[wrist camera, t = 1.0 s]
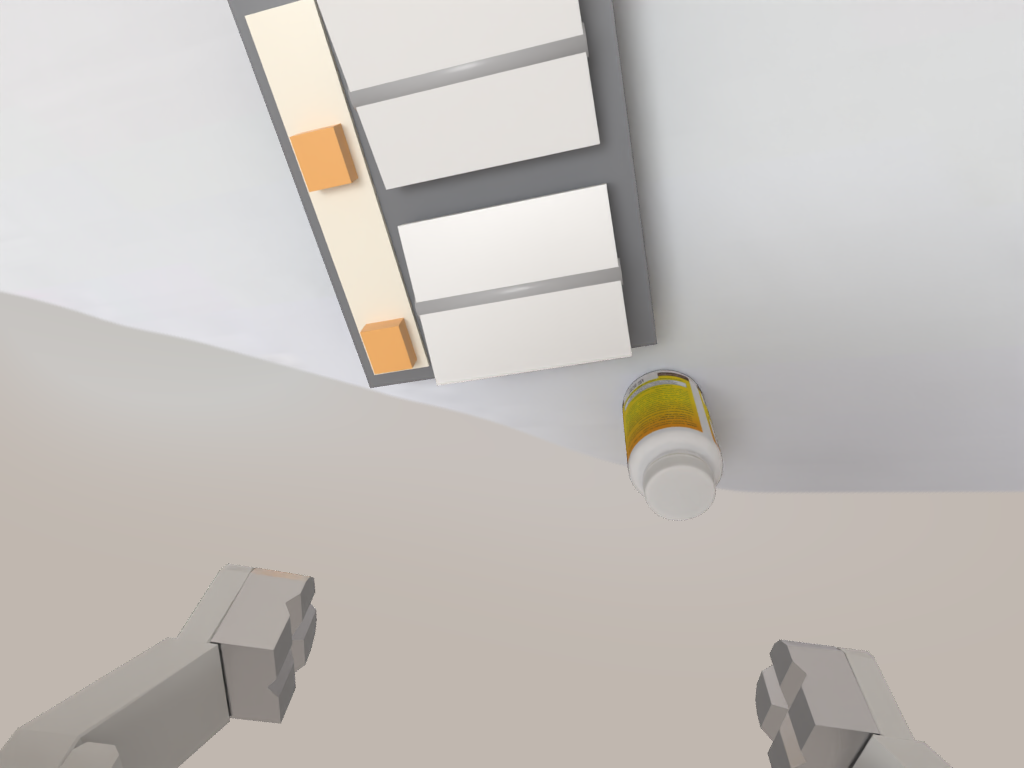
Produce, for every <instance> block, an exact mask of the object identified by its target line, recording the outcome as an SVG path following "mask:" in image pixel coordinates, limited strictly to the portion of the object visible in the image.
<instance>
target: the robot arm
mask: <svg viewBox="0 0 1024 768" xmlns="http://www.w3.org/2000/svg"><path fill="white" fill-rule="evenodd" d="M314 593H315V583H314V578H313V577H310V576H304V575H298V574H292V573H286V572H280V571H274V570H267V569H261V568H253V567H246V566H240V565H234V564H227V565H226V566H225V567H223V568H222V569H221V570H220V571H219V572H218V574H217V575H216V577H215V579H214V580H213V582H212V583H211V585H210V586H209V588H208V589H207V591H206V593H205V594H204V596H203V597H202V599H201V600H200V602H199V603H198V605H197V607H196V608H195V610H194V611H193V613H192V615H191V616H190V617H189V619H188V621H187V622H186V624H185V625H184V627H183V628H182V630H181V632H180V633H179V635H178V636H177V638H169V637H168V638H166V639H164V640H162V641H161V642H159V643H157V644H156V645H154V646H153V647H151V648H149V649H148V650H146V651H144V652H143V653H141V654H139V655H138V656H136V657H134V658H133V659H131V660H129V661H128V662H126V663H125V664H123V665H121V666H120V667H118V668H116V669H115V670H113V671H111V672H110V673H108V674H106V675H105V676H103V677H102V678H100V679H98V680H97V681H95V682H93V683H92V684H90V685H88V686H87V687H85V688H83V689H82V690H80V691H79V692H77V693H75V694H74V695H72V696H70V697H69V698H67V699H65V700H64V701H62V702H61V703H59V704H57V705H56V706H54V707H52V708H51V709H49V710H47V711H46V712H44V713H42V714H41V715H39V716H37V717H36V718H34V719H32V720H31V721H29V722H28V723H26V724H24V725H23V726H21V727H20V728H18V729H17V730H16V731H15V732H14V734H13V735H12V736H11V738H10V739H9V740H8V741H7V743H6V744H5V745H4V746H3V748H2V749H1V750H0V768H178V767H179V766H180V765H181V764H182V763H183V762H184V761H186V760H187V759H188V758H189V757H190V756H191V755H192V754H194V753H195V752H196V751H197V750H198V749H199V748H200V747H201V746H203V745H204V744H205V743H206V742H207V741H208V740H209V739H210V738H212V737H213V736H214V735H215V734H216V733H217V732H218V731H219V730H221V729H222V728H223V727H224V726H225V725H226V724H227V723H228V722H230V718H235V719H244V720H253V721H262V722H272V723H281V722H282V719H283V717H284V715H285V712H286V710H287V707H288V705H289V703H290V700H291V698H292V695H293V693H294V691H295V688H296V685H295V672H296V671H297V670H299V669H300V668H301V667H303V666H304V665H305V664H306V661H307V659H308V656H309V654H310V651H311V648H312V644H313V639H314V635H315V630H316V621H317V619H316V609H315V608H314V607H313V606H312V605H311V601H312V598H313V596H314ZM770 657H771V660H772V663H773V665H771V666H770V667H768V668H766V669H765V670H763V671H762V672H761V675H760V677H759V680H758V682H757V688H756V709H757V715H758V719H759V723H760V727H761V729H762V730H763V731H764V732H765V733H766V734H767V735H768V736H769V738H770V739H771V740H772V741H773V743H772V745H771V747H770V749H769V752H768V756H769V760H770V763H771V767H772V768H953V767H951V766H950V765H949V764H948V763H947V762H946V761H945V760H944V759H943V758H941V757H940V756H939V755H938V754H937V753H936V752H935V751H934V750H933V749H932V748H930V747H929V746H928V745H927V744H926V743H925V742H922V741H917V740H915V739H914V737H913V735H912V733H911V731H910V729H909V727H908V725H907V723H906V721H905V719H904V717H903V715H902V713H901V711H900V709H899V707H898V705H897V703H896V701H895V699H894V697H893V695H892V693H891V691H890V689H889V687H888V685H887V683H886V680H885V679H884V676H883V674H882V672H881V670H880V668H879V666H878V664H877V662H876V660H875V658H874V657H873V656H872V655H871V654H870V653H869V652H868V651H863V650H855V649H847V648H836V647H834V646H826V645H818V644H810V643H801V642H794V641H786V640H779V641H778V642H776V643H775V644H774V646H773V648H772V650H771V652H770Z"/></svg>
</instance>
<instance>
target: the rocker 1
mask: <svg viewBox="0 0 1024 768" xmlns="http://www.w3.org/2000/svg"><path fill="white" fill-rule="evenodd" d="M317 3H318V6H319V8H320V11H321V14H322V17H323V19H324V22H325V25H326V27H327V30H328V33H329V36H330V38H331V41H332V44H333V47H334V49H335V52H336V55H337V57H338V60H339V63H340V66H341V68H342V71H343V74H344V76H345V79H346V82H347V85H348V94H349V97H350V101H351V103H352V105H353V107H354V109H355V110H356V111H357V112H358V114H359V117H360V120H361V123H362V125H363V128H364V131H365V133H366V136H367V139H368V142H369V144H370V147H371V150H372V152H373V155H374V158H375V161H376V163H377V166H378V169H379V171H380V174H381V177H382V180H383V182H384V185H385V188H386V190H387V189H392V188H397V187H401V186H406V185H411V184H415V183H420V182H425V181H429V180H434V179H439V178H443V177H448V176H453V175H457V174H462V173H467V172H471V171H476V170H481V169H485V168H490V167H495V166H499V165H504V164H509V163H513V162H518V161H523V160H527V159H532V158H537V157H541V156H546V155H551V154H555V153H560V152H565V151H569V150H574V149H579V148H583V147H588V146H593V145H597V144H600V140H599V132H598V126H597V119H596V113H595V106H594V100H593V93H592V87H591V80H590V74H589V67H588V60H587V57H589V53H588V46H587V39H586V32H585V26H584V22H582V21H581V15H580V8H579V2H578V0H317Z"/></svg>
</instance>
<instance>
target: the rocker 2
mask: <svg viewBox="0 0 1024 768" xmlns="http://www.w3.org/2000/svg"><path fill="white" fill-rule="evenodd" d="M397 227H398V231H399V235H400V239H401V243H402V247H403V251H404V255H405V259H406V263H407V267H408V271H409V275H410V279H411V283H412V287H413V291H414V295H415V309H416V312H417V315H418V317H419V318H420V319H421V323H422V327H423V331H424V335H425V339H426V343H427V347H428V351H429V355H430V359H431V363H432V368H433V372H434V376H435V380H436V384H437V386H438V385H445V384H452V383H458V382H465V381H472V380H478V379H485V378H491V377H498V376H505V375H511V374H518V373H525V372H531V371H538V370H545V369H551V368H558V367H564V366H571V365H578V364H584V363H591V362H598V361H604V360H611V359H617V358H624V357H631V356H632V352H631V345H630V338H629V332H628V325H627V318H626V312H625V305H624V298H623V292H622V285H623V279H622V272H621V265H620V259H619V258H617V252H616V245H615V238H614V232H613V225H612V218H611V212H610V205H609V198H608V192H607V185H606V183H604V184H599V185H594V186H589V187H584V188H579V189H574V190H569V191H564V192H559V193H554V194H549V195H544V196H539V197H535V198H530V199H525V200H520V201H515V202H510V203H505V204H500V205H495V206H490V207H485V208H480V209H475V210H470V211H465V212H460V213H455V214H451V215H446V216H441V217H436V218H431V219H426V220H421V221H416V222H411V223H406V224H402V225H400V226H397Z"/></svg>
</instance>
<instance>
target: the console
mask: <svg viewBox="0 0 1024 768" xmlns="http://www.w3.org/2000/svg"><path fill="white" fill-rule="evenodd" d="M578 2H579V8H580V15H581V21H582V22H584V26H585V32H586V39H587V46H588V53H589V57H587V60H588V67H589V74H590V80H591V87H592V93H593V100H594V106H595V113H596V119H597V126H598V132H599V140H600V144H597V145H593V146H588V147H583V148H579V149H574V150H569V151H565V152H560V153H555V154H551V155H546V156H541V157H537V158H532V159H527V160H523V161H518V162H513V163H509V164H504V165H499V166H495V167H490V168H485V169H481V170H476V171H471V172H467V173H462V174H457V175H453V176H448V177H443V178H439V179H434V180H429V181H425V182H420V183H415V184H411V185H406V186H401V187H397V188H392V189H387V190H386V188H385V185H384V182H383V180H382V177H381V174H380V171H379V169H378V166H377V163H376V161H375V158H374V155H373V152H372V150H371V147H370V144H369V142H368V139H367V136H366V133H365V131H364V128H363V125H362V123H361V120H360V117H359V114H358V112H357V111H356V110H355V109H354V107H353V105H352V103H351V101H350V97H349V94H348V85H347V82H346V79H345V76H344V74H343V71H342V68H341V66H340V63H339V60H338V57H337V55H336V52H335V49H334V47H333V44H332V41H331V38H330V36H329V33H328V30H327V27H326V25H325V22H324V19H323V17H322V14H321V11H320V8H319V6H318V3H317V0H228V3H229V6H230V8H231V11H232V14H233V17H234V19H235V22H236V25H237V27H238V30H239V33H240V36H241V38H242V41H243V44H244V46H245V49H246V52H247V55H248V57H249V60H250V63H251V65H252V68H253V71H254V74H255V76H256V79H257V82H258V84H259V87H260V90H261V93H262V95H263V98H264V101H265V103H266V106H267V109H268V112H269V114H270V117H271V120H272V122H273V125H274V128H275V131H276V133H277V136H278V139H279V141H280V144H281V147H282V150H283V152H284V155H285V158H286V160H287V163H288V166H289V169H290V171H291V174H292V177H293V179H294V182H295V185H296V188H297V190H298V193H299V196H300V198H301V201H302V204H303V207H304V209H305V212H306V215H307V217H308V220H309V223H310V226H311V228H312V231H313V234H314V236H315V239H316V242H317V245H318V247H319V250H320V253H321V255H322V258H323V261H324V264H325V266H326V269H327V272H328V274H329V277H330V280H331V282H332V285H333V288H334V291H335V293H336V296H337V299H338V301H339V304H340V307H341V310H342V312H343V315H344V318H345V320H346V323H347V326H348V329H349V331H350V334H351V337H352V339H353V342H354V345H355V348H356V350H357V353H358V356H359V358H360V361H361V364H362V367H363V369H364V372H365V375H366V377H367V380H368V383H369V386H370V388H374V387H380V386H387V385H393V384H400V383H406V382H413V381H419V380H426V379H432V378H435V376H434V372H433V368H432V363H431V359H430V355H429V351H428V347H427V343H426V339H425V335H424V331H423V327H422V323H421V319H420V318H419V317H418V315H417V312H416V309H415V295H414V291H413V287H412V283H411V279H410V275H409V271H408V267H407V263H406V259H405V255H404V251H403V247H402V243H401V239H400V235H399V231H398V227H397V226H400V225H402V224H406V223H411V222H416V221H421V220H426V219H431V218H436V217H441V216H446V215H451V214H455V213H460V212H465V211H470V210H475V209H480V208H485V207H490V206H495V205H500V204H505V203H510V202H515V201H520V200H525V199H530V198H535V197H539V196H544V195H549V194H554V193H559V192H564V191H569V190H574V189H579V188H584V187H589V186H594V185H599V184H604V183H606V185H607V192H608V198H609V205H610V212H611V218H612V225H613V232H614V238H615V245H616V252H617V258H619V259H620V265H621V272H622V279H623V285H622V292H623V298H624V305H625V312H626V318H627V325H628V332H629V338H630V345H631V348H635V347H641V346H648V345H654V344H657V339H656V332H655V324H654V316H653V309H652V301H651V293H650V286H649V278H648V271H647V263H646V255H645V248H644V240H643V232H642V225H641V217H640V209H639V202H638V194H637V186H636V179H635V171H634V163H633V156H632V148H631V141H630V133H629V125H628V118H627V110H626V102H625V95H624V87H623V79H622V72H621V64H620V56H619V49H618V41H617V33H616V26H615V18H614V11H613V3H612V0H578Z"/></svg>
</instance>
